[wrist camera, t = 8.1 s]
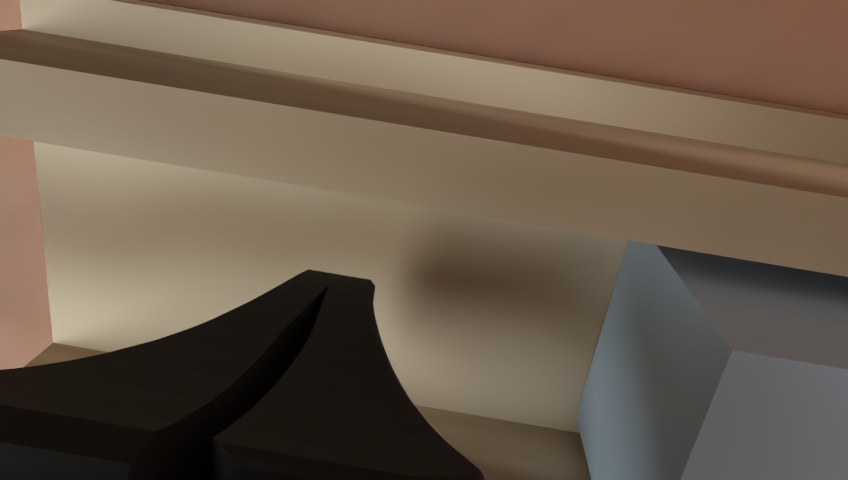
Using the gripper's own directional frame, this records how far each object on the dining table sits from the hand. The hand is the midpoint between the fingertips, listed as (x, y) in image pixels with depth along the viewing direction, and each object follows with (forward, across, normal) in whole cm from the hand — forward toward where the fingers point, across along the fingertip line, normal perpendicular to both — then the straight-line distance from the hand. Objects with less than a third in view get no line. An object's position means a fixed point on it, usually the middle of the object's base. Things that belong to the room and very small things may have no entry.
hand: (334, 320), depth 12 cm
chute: (+3, -3, 0) cm, 4 cm away
